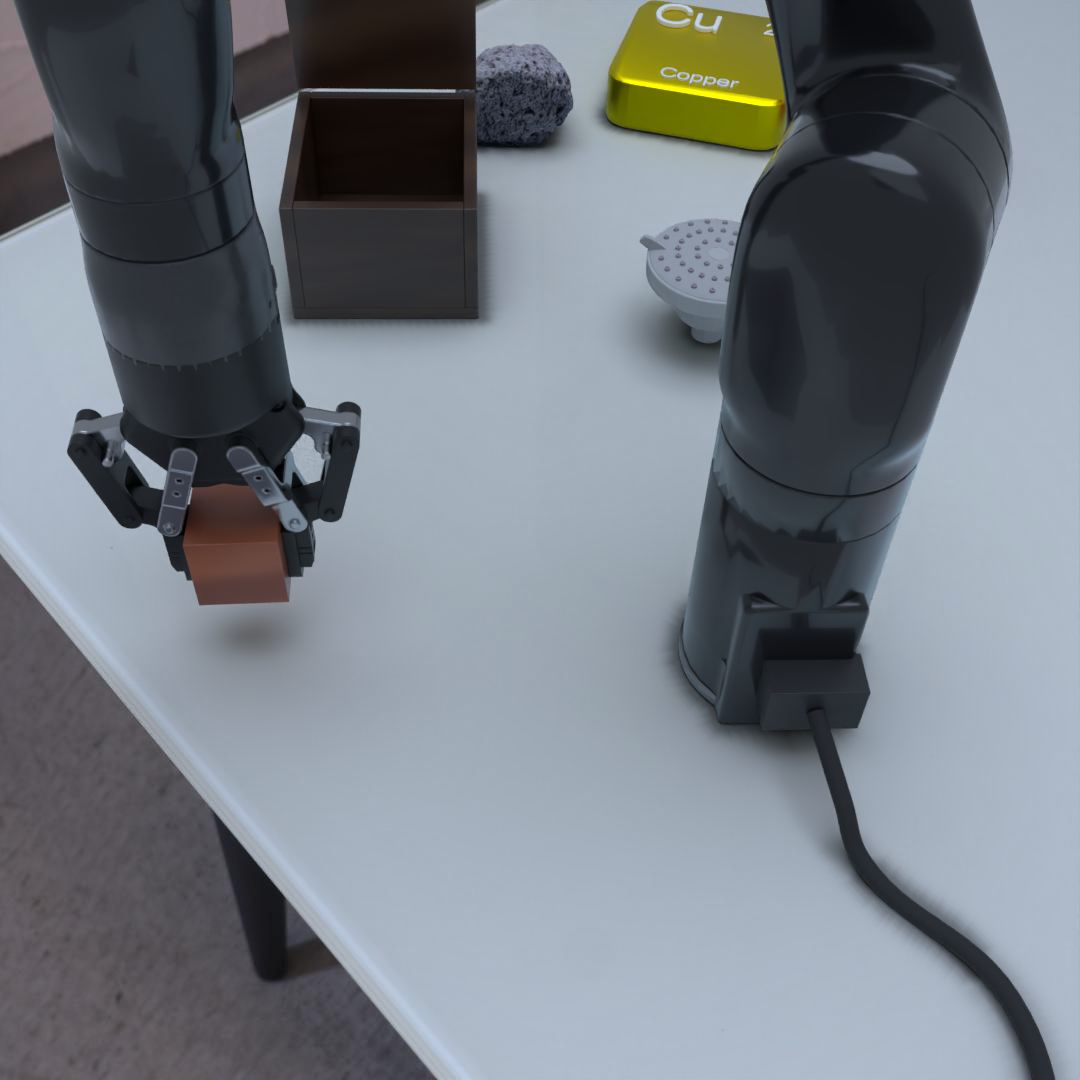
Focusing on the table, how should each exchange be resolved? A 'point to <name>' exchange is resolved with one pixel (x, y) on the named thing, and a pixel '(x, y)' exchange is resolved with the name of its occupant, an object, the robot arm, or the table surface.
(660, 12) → the element tile
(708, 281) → the showerhead
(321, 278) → the chest
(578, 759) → the table surface
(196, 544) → the block
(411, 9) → the lid
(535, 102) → the pumice stone
